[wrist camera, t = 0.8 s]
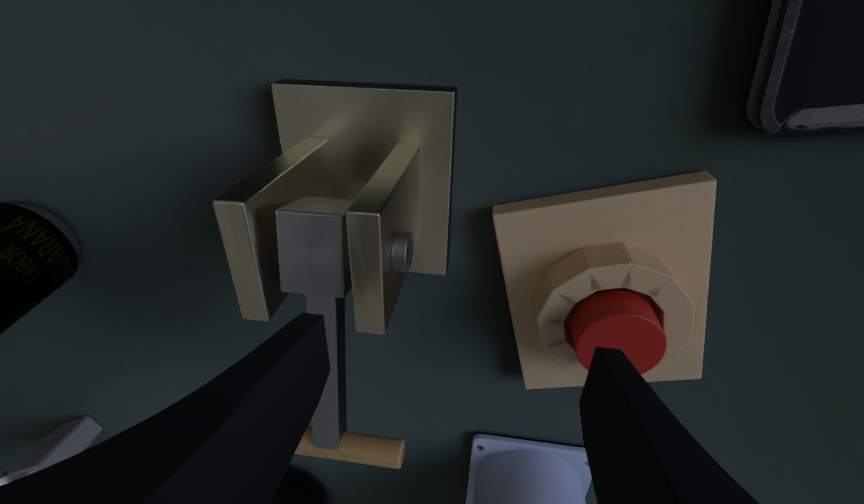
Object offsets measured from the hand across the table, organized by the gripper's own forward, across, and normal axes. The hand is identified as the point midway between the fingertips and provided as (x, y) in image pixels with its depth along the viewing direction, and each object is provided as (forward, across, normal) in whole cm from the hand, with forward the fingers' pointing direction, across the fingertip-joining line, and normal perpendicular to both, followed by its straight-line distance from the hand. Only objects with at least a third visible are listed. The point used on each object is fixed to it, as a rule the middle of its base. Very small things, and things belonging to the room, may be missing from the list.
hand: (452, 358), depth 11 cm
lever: (+4, +5, +3) cm, 7 cm away
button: (+8, -7, +4) cm, 11 cm away
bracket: (+10, +5, -1) cm, 11 cm away
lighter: (+10, +32, +23) cm, 41 cm away
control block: (+10, -7, +4) cm, 13 cm away
